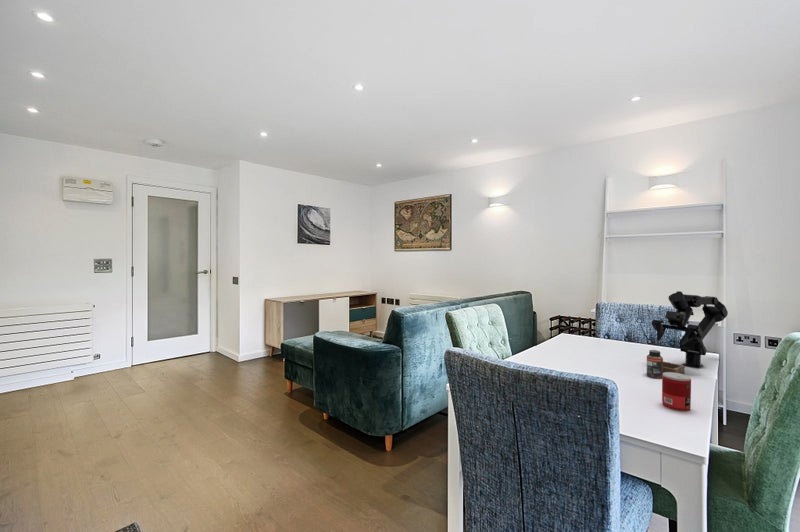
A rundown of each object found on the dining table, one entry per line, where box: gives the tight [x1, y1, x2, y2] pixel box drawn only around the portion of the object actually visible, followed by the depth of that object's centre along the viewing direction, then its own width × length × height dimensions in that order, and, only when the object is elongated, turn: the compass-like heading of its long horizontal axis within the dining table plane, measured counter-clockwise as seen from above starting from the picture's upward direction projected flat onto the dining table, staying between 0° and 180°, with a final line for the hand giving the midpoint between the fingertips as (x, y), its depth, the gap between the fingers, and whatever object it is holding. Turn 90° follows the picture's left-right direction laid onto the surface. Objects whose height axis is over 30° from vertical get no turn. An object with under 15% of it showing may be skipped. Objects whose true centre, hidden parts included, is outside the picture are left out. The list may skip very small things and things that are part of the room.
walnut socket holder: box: [663, 361, 686, 375], centre depth 165 cm, size 10×10×4 cm
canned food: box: [661, 372, 692, 412], centre depth 128 cm, size 8×8×11 cm
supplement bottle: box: [646, 349, 664, 379], centre depth 160 cm, size 6×6×11 cm
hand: (669, 342), depth 166 cm, fingers open, 9 cm apart
